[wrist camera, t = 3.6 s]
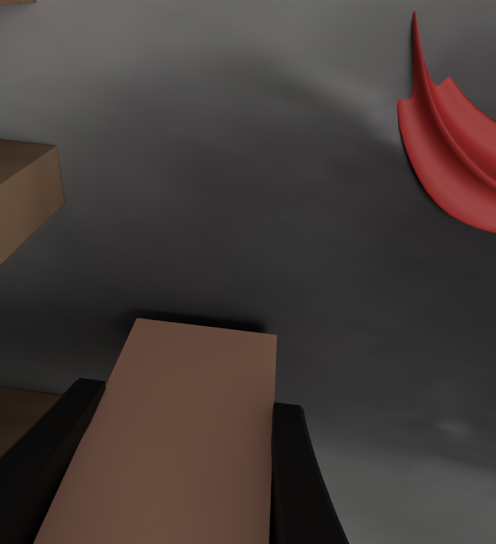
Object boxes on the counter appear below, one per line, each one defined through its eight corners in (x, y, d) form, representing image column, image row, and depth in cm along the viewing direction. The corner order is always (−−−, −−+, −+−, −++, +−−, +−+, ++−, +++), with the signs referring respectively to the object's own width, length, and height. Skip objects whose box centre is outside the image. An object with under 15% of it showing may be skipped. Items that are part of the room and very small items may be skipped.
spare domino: (139, 356, 14) (24, 640, 8) (136, 318, 13) (6, 602, 7) (270, 372, 14) (255, 671, 8) (276, 335, 13) (265, 636, 7)
